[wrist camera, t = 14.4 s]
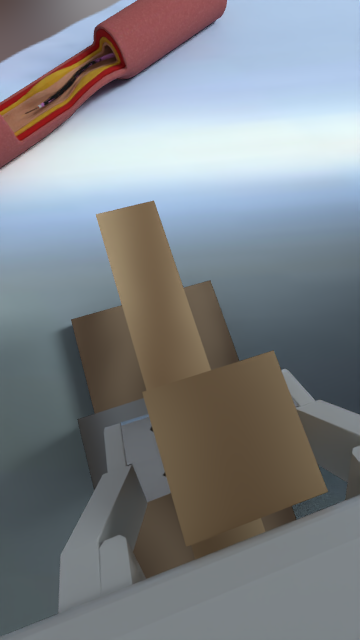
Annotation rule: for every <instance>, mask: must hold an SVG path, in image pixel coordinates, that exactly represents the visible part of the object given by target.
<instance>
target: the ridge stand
mask: <svg viewBox="0 0 360 640" xmlns="http://www.w3.org/2000/svg"><path fill="white" fill-rule="evenodd" d="M184 291H185V294H186V297H187V300H188V303H189V306H190V309H191V312H192V315H193V318H194V321H195V324H196V327H197V330H198V333H199V336H200V339H201V342H202V345H203V348H204V351H205V354H206V357H207V360H208V362H209V365H210V368H211V370H213V369H217V368H220V367H223V366H226V365H229V364H232V363H235V362H239V359H238V356H237V353H236V350H235V347H234V345H233V342H232V339H231V336H230V334H229V331H228V328H227V325H226V322H225V320H224V317H223V314H222V311H221V309H220V306H219V303H218V300H217V297H216V295H215V292H214V289H213V286H212V284H211V281H206V282H203V283H199V284H196V285H192V286H188V287H185V288H184ZM71 321H72V325H73V329H74V333H75V337H76V341H77V345H78V349H79V353H80V357H81V361H82V365H83V369H84V373H85V377H86V381H87V385H88V389H89V393H90V397H91V401H92V405H93V409H94V413H95V414H93V415H89V416H86V417H83V418H80V419H77V420H78V424H79V428H80V432H81V436H82V441H83V445H84V449H85V453H86V457H87V462H88V466H89V470H90V474H91V478H92V483H93V487H94V490H95V488H96V487H97V485H98V483H99V481H100V479H101V477H102V475H103V474H105V473H108V471H107V460H106V449H105V439H104V429H105V427H108V426H112V425H115V424H119V423H121V422H124V421H127V420H131V419H134V418H137V417H141V416H144V415H147V414H148V411H147V407H146V404H145V400H144V397H143V393H142V392H144V391H147V390H146V387H145V383H144V380H143V376H142V373H141V369H140V366H139V362H138V359H137V356H136V352H135V349H134V345H133V342H132V338H131V335H130V331H129V328H128V324H127V321H126V317H125V314H124V310H123V307H122V305H121V306H118V307H114V308H110V309H107V310H103V311H100V312H96V313H93V314H89V315H86V316H82V317H79V318H75V319H72V320H71ZM147 504H148V505H147V508H146V511H145V514H144V518H143V521H142V524H141V527H140V531H139V534H138V537H137V540H136V544H135V547H134V550H133V553H134V555H135V557H136V559H137V561H138V563H139V565H140V567H141V569H142V571H143V573H144V575H145V578H146V579H147V578H150V577H152V576H155V575H157V574H160V573H163V572H165V571H168V570H170V569H173V568H175V567H178V566H180V565H183V564H185V563H188V562H190V561H193V560H195V557H194V553H193V550H192V546H191V545H190V546H187V547H186V544H185V540H184V537H183V533H182V530H181V526H180V523H179V519H178V516H177V512H176V509H175V505H174V502H173V498H172V495H171V493H170V494H167V495H165V496H162V497H160V498H157V499H155V500H152V501H150V502H147ZM261 520H262V523H263V526H264V529H265V532H266V531H269V530H271V529H274V528H276V527H279V526H281V525H284V524H287V523H289V522H292V521H294V520H296V517H295V514H294V511H293V508H292V506H290V507H288V508H285V509H283V510H280V511H277V512H275V513H272V514H270V515H267V516H265V517H262V518H261Z"/></svg>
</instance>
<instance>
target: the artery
mask: <svg viewBox="0 0 360 640" xmlns="http://www.w3.org/2000/svg"><path fill="white" fill-rule="evenodd" d="M226 4H227V0H137V1H136V2H134V3H132V4H131V5H129V6H128V7H126V8H124V9H123V10H121V11H119V12H118V13H116V14H115V15H113V16H111V17H110V18H108V19H107V20H105V21H103V22H102V23H100V24H99V25H97V26H96V27H95V30H94V42H93V44H92V45H90V46H89V47H87V48H86V49H84V50H82V51H81V52H79V53H78V54H76V55H75V56H73V57H71V58H70V59H68V60H67V61H65V62H64V63H62V64H60V65H59V66H57V67H56V68H54V69H53V70H51V71H49V72H48V73H46V74H45V75H43V76H42V77H40V78H38V79H37V80H35V81H34V82H32V83H30V84H29V85H27V86H26V87H24V88H23V89H21V90H19V91H18V92H16V93H15V94H13V95H12V96H10V97H8V98H7V99H5V100H4V101H2V102H1V103H0V168H1V167H2V166H4V165H5V164H7V163H8V162H10V161H11V160H12V159H14V158H15V157H17V156H18V155H20V154H21V153H23V152H24V151H26V150H27V149H28V148H30V147H31V146H33V145H34V144H36V143H37V142H39V141H40V140H42V139H43V138H45V137H46V136H47V135H48V134H50V133H51V132H52V131H53V130H54V129H56V128H57V127H58V126H59V125H61V124H62V123H63V122H64V121H66V120H67V119H68V118H70V117H71V115H72V114H73V113H74V112H75V111H76V110H77V109H78V108H79V107H80V106H81V105H82V104H83V103H84V102H85V101H86V100H87V99H88V98H89V97H90V96H92V95H93V94H94V93H95V92H96V91H97V90H99V89H100V88H101V87H103V86H104V85H106V84H107V83H109V82H111V81H113V80H115V79H129V78H131V77H134V76H135V75H137V74H138V73H140V72H141V71H142V70H144V69H145V68H147V67H148V66H150V65H151V64H153V63H154V62H156V61H157V60H159V59H160V58H161V57H163V56H164V55H166V54H167V53H169V52H170V51H172V50H173V49H175V48H176V47H178V46H179V45H180V44H182V43H183V42H185V41H186V40H188V39H189V38H191V37H192V36H194V35H195V34H197V33H198V32H199V31H201V30H202V29H204V28H205V27H207V26H208V25H210V24H211V23H213V22H214V21H216V20H217V19H218V18H220V17H221V16H222V15H223V13H224V11H225V8H226Z"/></svg>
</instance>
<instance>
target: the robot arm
mask: <svg viewBox="0 0 360 640" xmlns="http://www.w3.org/2000/svg"><path fill="white" fill-rule="evenodd" d="M281 371H282V373H283V376H284V379H285V381H286V384H287V386H288V389H289V392H290V394H291V397H292V399H293V402H294V405H295V407H296V410H297V412H298V415H299V418H300V420H301V423H302V425H303V428H304V431H305V433H306V436H307V438H308V441H309V444H310V446H311V449H312V451H313V454H314V456H315V459H316V462H317V464H318V465H320V466H321V467H323V468H325V469H326V470H328V471H329V472H331V473H333V474H334V475H336V476H337V477H339V478H341V479H342V480H344V481H346V482H347V483H348V484H347V491H346V498H345V501H342V502H340V503H337V504H335V505H332V506H330V507H327V508H325V509H322V510H320V511H317V512H314V513H312V514H309V515H307V516H304V517H302V518H299V519H297V520H294V521H292V522H289V523H287V524H284V525H281V526H279V527H276V528H274V529H271V530H269V531H266V532H264V533H261V534H259V535H256V536H254V537H251V538H249V539H246V540H244V541H241V542H239V543H236V544H233V545H231V546H228V547H226V548H223V549H221V550H218V551H216V552H213V553H211V554H208V555H206V556H203V557H201V558H198V559H196V560H193V561H190V562H188V563H185V564H183V565H180V566H178V567H175V568H173V569H170V570H168V571H165V572H163V573H160V574H157V575H155V576H152V577H150V578H147V579H146V578H145V575H144V573H143V571H142V569H141V567H140V565H139V563H138V561H137V559H136V557H135V555H134V553H133V550H134V547H135V544H136V540H137V537H138V534H139V531H140V527H141V524H142V521H143V518H144V514H145V511H146V508H147V505H148V504H147V502H150V501H152V500H155V499H157V498H160V497H162V496H165V495H167V494H170V493H171V491H170V488H169V484H168V481H167V477H166V474H165V470H164V467H163V463H162V460H161V456H160V453H159V449H158V446H157V442H156V439H155V435H154V432H153V428H152V425H151V421H150V418H149V414H147V415H144V416H141V417H137V418H134V419H131V420H127V421H124V422H121V423H119V424H115V425H112V426H108V427H105V429H104V439H105V449H106V460H107V471H108V473H105V474H103V475H102V477H101V479H100V481H99V483H98V485H97V487H96V488H95V490H94V492H93V494H92V496H91V498H90V500H89V502H88V504H87V506H86V507H85V509H84V511H83V513H82V515H81V517H80V519H79V521H78V523H77V525H76V526H75V528H74V530H73V532H72V534H71V536H70V538H69V540H68V542H67V544H66V545H65V547H64V549H63V551H62V553H61V555H60V580H59V606H58V614H56V615H54V616H51V617H48V618H46V619H43V620H41V621H38V622H36V623H33V624H31V625H28V626H26V627H23V628H21V629H18V630H15V631H13V632H10V633H8V634H5V635H3V636H0V640H360V415H359V414H356V413H354V412H351V411H348V410H346V409H343V408H341V407H338V406H335V405H333V404H330V403H327V402H325V401H322V400H317V401H315V400H314V399H313V397H312V396H311V395H310V394H309V393H308V392H307V391H306V390H305V389H304V387H303V386H302V385H301V384H300V383H299V382H298V381H297V380H296V378H295V377H294V376H293V375H292V374H291V373H290V372H289V371H288V370H287V369H283V370H281Z"/></svg>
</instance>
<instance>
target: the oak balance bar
mask: <svg viewBox="0 0 360 640" xmlns="http://www.w3.org/2000/svg"><path fill="white" fill-rule="evenodd" d="M96 217H97V220H98V224H99V227H100V231H101V234H102V238H103V241H104V245H105V248H106V252H107V255H108V258H109V262H110V265H111V269H112V272H113V276H114V279H115V283H116V286H117V290H118V293H119V297H120V300H121V304H122V307H123V310H124V314H125V317H126V321H127V324H128V328H129V331H130V335H131V338H132V342H133V345H134V349H135V352H136V356H137V359H138V362H139V366H140V369H141V373H142V376H143V380H144V383H145V387H146V390H147V391H144V392H142V393H143V397H144V400H145V404H146V407H147V411H148V414H149V418H150V421H151V425H152V428H153V432H154V435H155V439H156V442H157V446H158V449H159V453H160V456H161V460H162V463H163V467H164V470H165V474H166V477H167V481H168V484H169V488H170V491H171V495H172V498H173V502H174V505H175V509H176V512H177V516H178V519H179V523H180V526H181V530H182V533H183V537H184V540H185V544H186V547H187V546H190V545H191V546H192V550H193V553H194V557H195V560H196V559H198V558H201V557H203V556H206V555H208V554H211V553H213V552H216V551H218V550H221V549H223V548H226V547H228V546H231V545H233V544H236V543H239V542H241V541H244V540H246V539H249V538H251V537H254V536H256V535H259V534H261V533H264V532H265V529H264V526H263V523H262V520H261V518H262V517H265V516H267V515H270V514H272V513H275V512H277V511H280V510H283V509H285V508H288V507H290V506H293V505H295V504H298V503H301V502H303V501H306V500H308V499H311V498H313V497H316V496H319V495H321V494H324V493H326V492H328V490H327V488H326V485H325V482H324V480H323V477H322V475H321V472H320V469H319V467H318V464H317V462H316V459H315V456H314V454H313V451H312V449H311V446H310V444H309V441H308V438H307V436H306V433H305V431H304V428H303V425H302V423H301V420H300V418H299V415H298V412H297V410H296V407H295V405H294V402H293V399H292V397H291V394H290V392H289V389H288V386H287V384H286V381H285V379H284V376H283V373H282V371H281V368H280V366H279V363H278V360H277V358H276V355H275V353H274V350H273V351H270V352H267V353H264V354H261V355H258V356H254V357H251V358H248V359H245V360H242V361H239V362H235V363H232V364H229V365H226V366H223V367H220V368H217V369H213V370H211V368H210V365H209V362H208V360H207V357H206V354H205V351H204V348H203V345H202V342H201V339H200V336H199V333H198V330H197V327H196V324H195V321H194V318H193V315H192V312H191V309H190V306H189V303H188V300H187V297H186V294H185V291H184V288H183V285H182V282H181V279H180V276H179V273H178V271H177V268H176V265H175V262H174V259H173V256H172V253H171V250H170V247H169V244H168V241H167V238H166V235H165V232H164V229H163V226H162V223H161V220H160V217H159V214H158V211H157V208H156V205H155V202H154V201H150V202H146V203H142V204H138V205H133V206H129V207H125V208H121V209H117V210H113V211H108V212H104V213H100V214H96Z"/></svg>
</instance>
